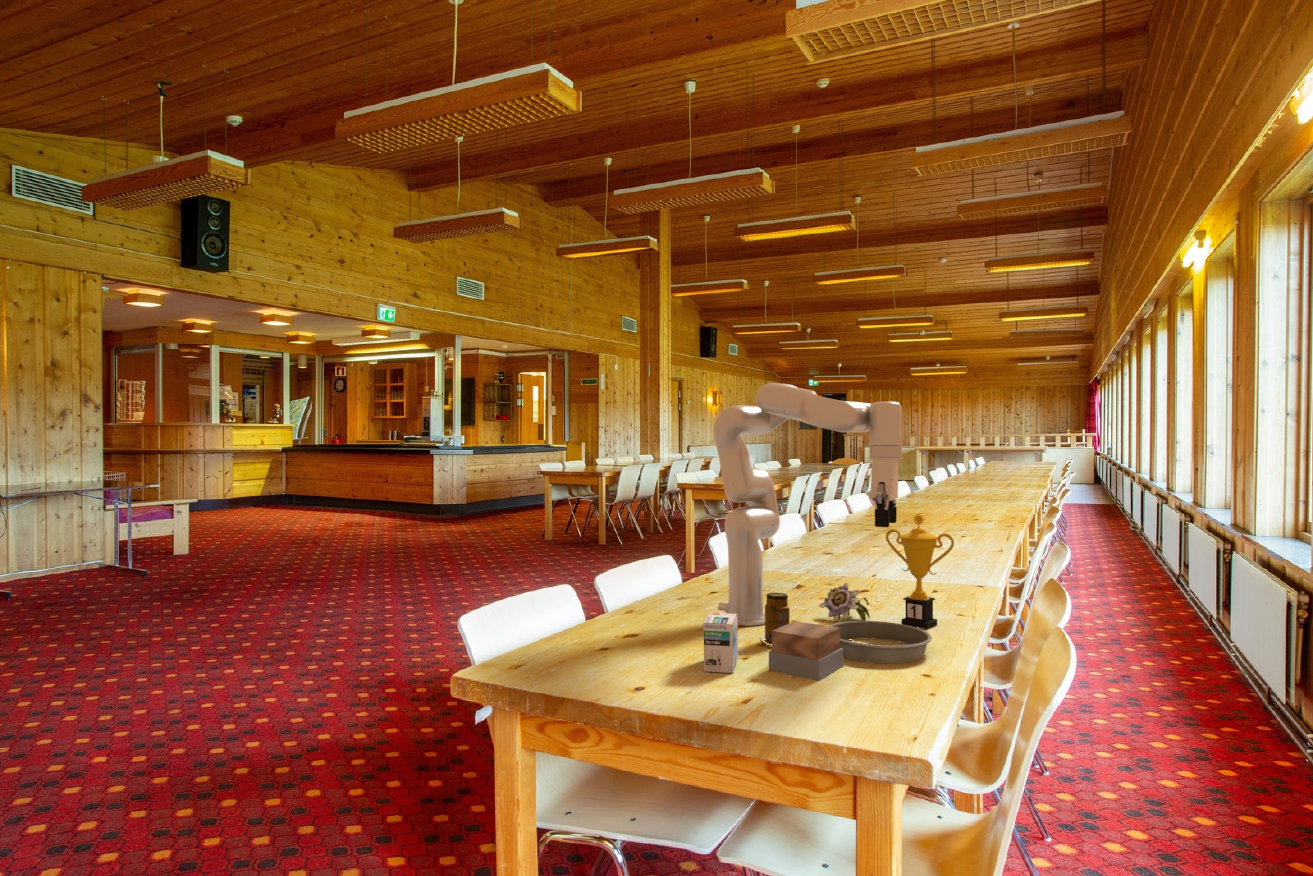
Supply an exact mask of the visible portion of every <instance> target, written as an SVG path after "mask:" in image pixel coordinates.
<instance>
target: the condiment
mask: <svg viewBox="0 0 1313 876" xmlns="http://www.w3.org/2000/svg"><path fill="white" fill-rule="evenodd" d="M788 597H789V596H788V594H787V593H783V592H768V593H767V594H766V599H765V602H766V604H765V605H764V614H765V624H764V637H760V638H759V639H760V641H761V642H762V641H765V642H767V643H769V644H772V631H773V630H775V629H777V628H780V627H782V626H784V625H787V624H789V623H790V615H791V614H790V605H789V604H788V603H789V600H788ZM761 638H762V639H764V638H765V639H766V640H762V639H761ZM762 644H763V645H764V646H765V647H766V648H769V647H768V646H771V645H766V643H763V642H762Z"/></svg>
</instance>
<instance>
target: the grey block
mask: <svg viewBox="0 0 1313 876" xmlns="http://www.w3.org/2000/svg"><path fill="white" fill-rule="evenodd" d="M840 668H841V669H842V668H844V656H843V648H840V649H838V650H836V651H834V652H832V653H831V654H829V655H827V656H825V657H823V658H821V659H820V660H816V659H810V658H805V657H799V656H794V655H789V654H783V653H778V652H773V651H772V649H771V650H768V671H770V670H772V671H771V672H775V671H776V673H780V674H785V673H786V674H785V675H789V674H790V675H791V676H795V677H800V678H805V679H809V678H811V679H810V680H813V679H814V680H815V681H818V682H820V681H822V680H823V679H825V678H827V677H829V676H830V675H832V674H833V673H836V672H837V671H839V670H841V669H840ZM838 669H839V670H838ZM831 673H832V674H831Z"/></svg>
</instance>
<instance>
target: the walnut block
mask: <svg viewBox="0 0 1313 876" xmlns="http://www.w3.org/2000/svg"><path fill="white" fill-rule="evenodd" d="M838 649H840V628H837V627H830V625H824V624H816V623H810V622H805V621H803V622H802V621H798V620H797V621H796V620H794V621H792V622H789V624H787V625H784V626H782V627H780V628H777V629H775V630H773V631H772V647H771V650H772V651H773V652H778V653H783V654H789V655H794V656H799V657H805V658H810V659H816V660H820V659H821V658H823V657H825V656H827V655H829V654H831V653H832V652H834V651H836V650H838Z"/></svg>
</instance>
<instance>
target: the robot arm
mask: <svg viewBox="0 0 1313 876" xmlns="http://www.w3.org/2000/svg"><path fill="white" fill-rule="evenodd" d="M755 402H756V405H748V404H747V405H745V404H736V405H730V406H728V407H726V408H725V407H724V409H723V410H721V411H720V412H719V413H718V414H717V417H716V419H715V421H714V424H713V439H714V443H715V446H716V450H717V455H718V458H719V459H718V460H719V467H720V472H721V479H722V484H723V490H724V495H725V496H726V498H727V499H728V500H729V501H730V502H733V503H748V506H741V507H737V508H735V509H734V508H733V510H731V511H730V512H729V513H728V515H727V514H726V515H727V516H726V517H725V520H724V531H725V532H724V533H725V536H726V542H727V543H726V544H727V553H728V555H727V557H728V559H727V560H728V561H727V563H728V602H724V601H720V602H719V603H718V606H717V610H718V611H724V613H728V614H737V619H738V626H746V627H747V626H748V627H750V626H754V627H755V626H761V625H765V613H764V564H763V563H764V562H763V559H764V558H763V557H764V556H763V552H762V548H761V546H760V543H759V540H765V539H768V538H769V539H770V538H772V537H773V536H775V535H776V533H778V531H779V529H780V523H781V521H780V519H781V518H780V512H779V507H778V501H777V500H778V499H777V494H776V491H775V490H776V489H775V485H774V481H773V479H772V477H771V475H770V474H769V473H768V472H767V471H766V470H764V469H762V468H758V467H752V464H751V460H750V453H749V450H748V447H747V445H746V444H745V443H744V441H743V439H742V437H743V436H748V437H749V436H750V437H751V436H752V437H753V436H756V437H757V436H764V435H765V436H766V435H767V434H769V433H771V432H773V431H774V430H776V429H777V428H778V427H780V426H781V425H783V424H784V423H786V422H787V421H788V420H793V421H796V422H802V423H805V424H806V425H807V424H808V425H811V426H814V427H817V428H822V429H825V430H830V431H834V432H839V433H855V434H857V433H858V434H860V433H863V434H864V433H869V436H868V437H869V438H868V441H869V453H868V454H869V455H868V457H869V460H872V463H871V473H870V475H871V476H870V477H871V478H870V500H871V501H872V502H874V527H875V528H889V527H890V524H896V523H897V517H898V516H897V509H898V508H897V500H896V499H897V498H898V494H899V469H898V468H899V464H898V463H899V462H898V461H899V460H903V407H902V405H901V404H900V403H899V402H897V401H876V402H872V403H869V402H862V401H861V402H860V401H847V400H846V401H845V400H838V399H835V398H834V399H833V398H828V397H826V396H820V395H818V394H817V392H816V391H814V390H812V389H806V388H801V387H797V386H795V385H793V384H787V383H779V382H769V383H768V382H767V383H765V384H763V385H761V387H759V388H758V390H757V391H756V393H755Z"/></svg>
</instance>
